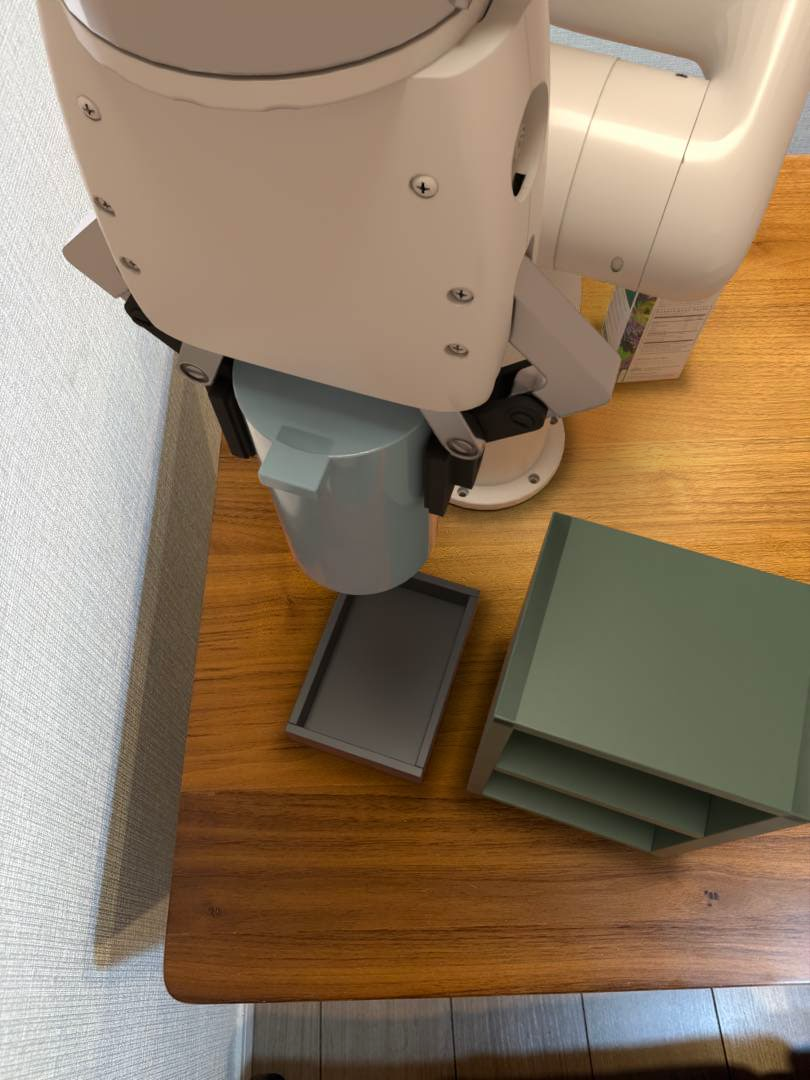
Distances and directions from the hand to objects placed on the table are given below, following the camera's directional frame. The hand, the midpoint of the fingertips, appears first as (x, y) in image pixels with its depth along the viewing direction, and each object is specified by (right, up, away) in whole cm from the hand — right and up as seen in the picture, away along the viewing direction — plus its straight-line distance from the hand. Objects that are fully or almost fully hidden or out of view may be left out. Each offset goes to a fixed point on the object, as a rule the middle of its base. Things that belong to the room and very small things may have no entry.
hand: (351, 449), depth 29 cm
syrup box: (+21, +12, +39) cm, 46 cm away
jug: (0, -3, +5) cm, 6 cm away
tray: (+1, -12, +28) cm, 31 cm away
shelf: (+14, -17, +26) cm, 34 cm away
